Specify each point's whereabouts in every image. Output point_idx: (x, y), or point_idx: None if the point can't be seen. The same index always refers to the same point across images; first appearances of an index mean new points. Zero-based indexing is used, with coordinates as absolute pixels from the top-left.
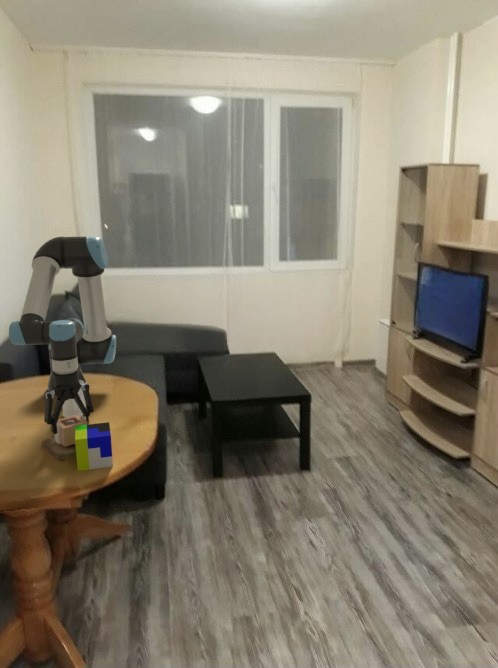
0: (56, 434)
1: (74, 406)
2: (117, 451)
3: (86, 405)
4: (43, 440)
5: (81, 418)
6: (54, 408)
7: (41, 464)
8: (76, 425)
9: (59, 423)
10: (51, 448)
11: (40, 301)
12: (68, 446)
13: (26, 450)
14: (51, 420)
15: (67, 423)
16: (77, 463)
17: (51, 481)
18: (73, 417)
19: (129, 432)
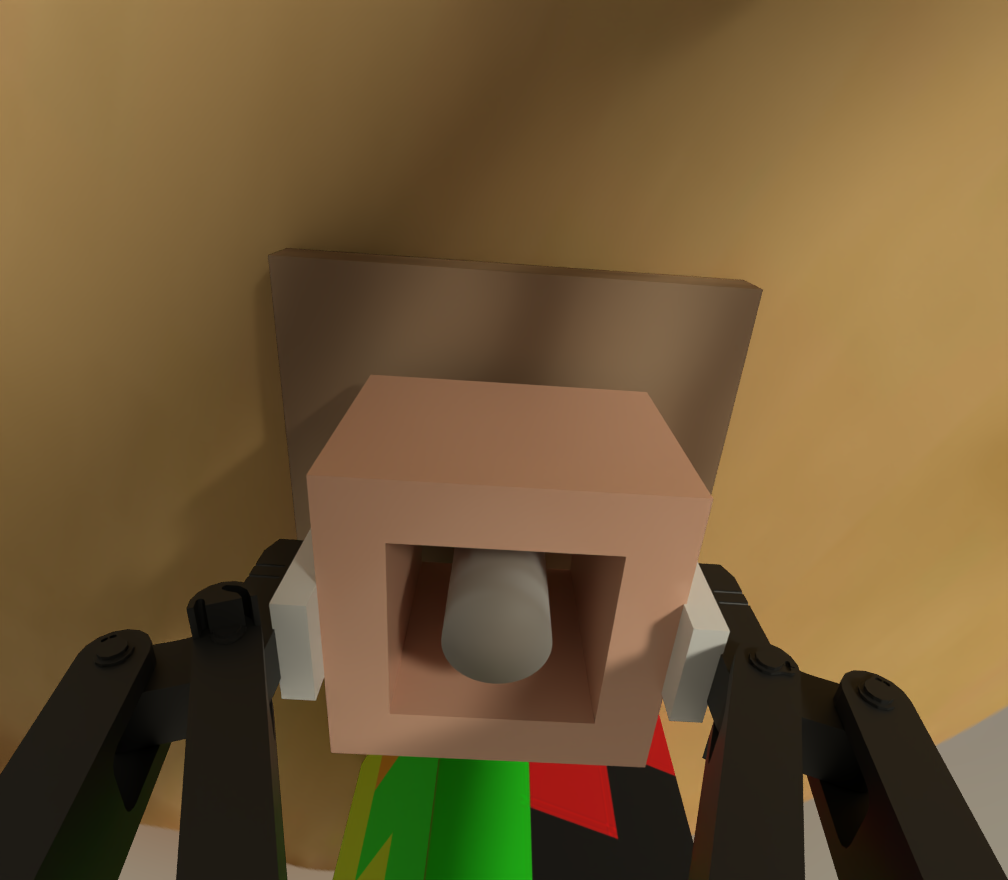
0: None
1: None
2: (684, 728)
3: (868, 777)
4: (286, 262)
5: (664, 649)
6: (181, 859)
7: (186, 571)
8: (499, 755)
9: (353, 610)
10: (297, 483)
11: None
12: (432, 546)
13: (118, 251)
14: (176, 738)
15: (447, 650)
16: (350, 816)
17: None
18: (610, 554)
19: (990, 563)
